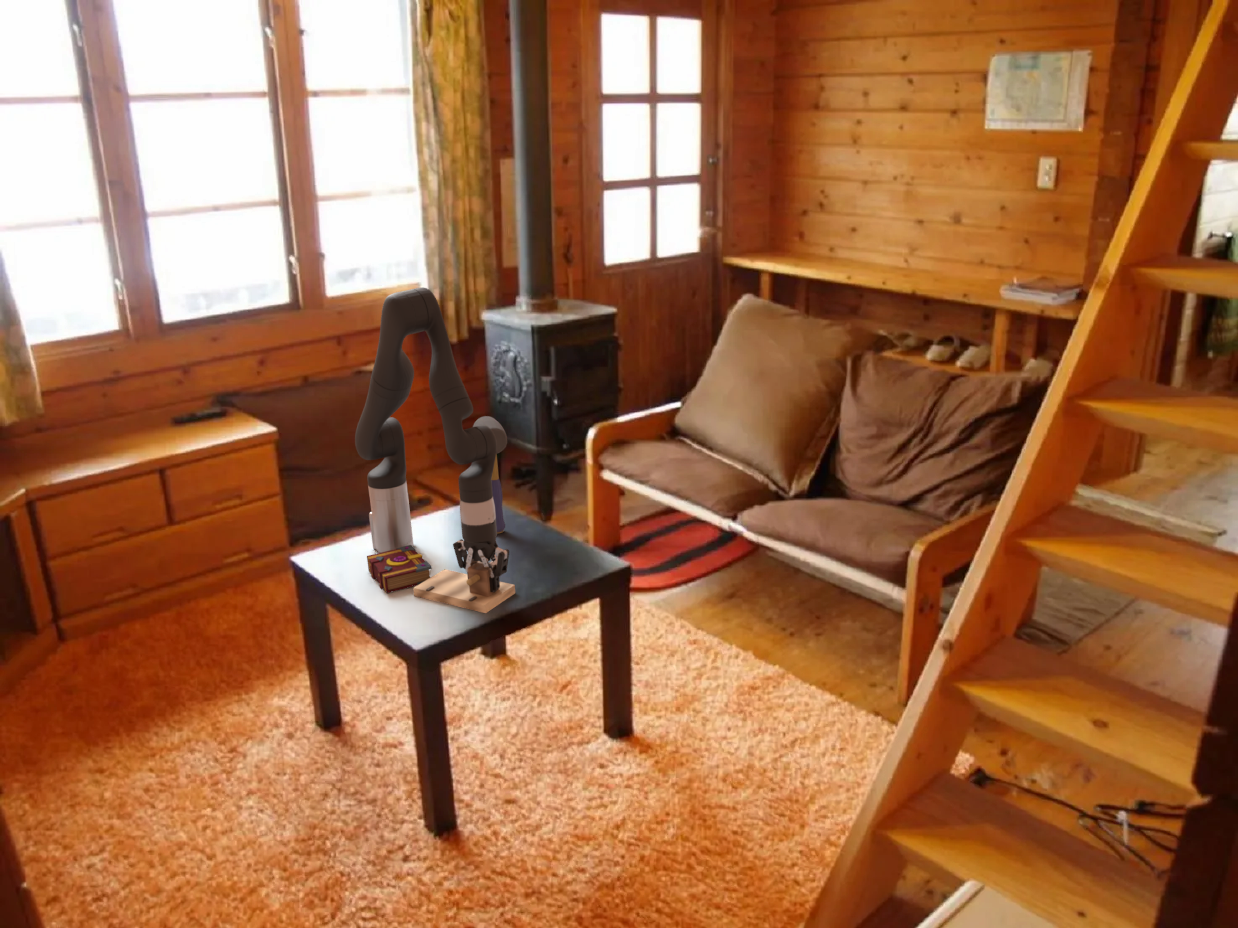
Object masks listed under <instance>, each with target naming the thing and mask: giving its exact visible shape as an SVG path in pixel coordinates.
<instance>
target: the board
mask: <svg viewBox="0 0 1238 928" xmlns="http://www.w3.org/2000/svg"><path fill="white" fill-rule="evenodd" d="M430 577H431V578H429V579H427V580H426V581H424V582H422V583H421V584H419V585H417V586H414V587H412V588H413V589H412V590H413V596H414V597H417V598H423V599H424V600H425V599H426V600H430V601H433V602H437V603H441V604H446V605H450V606H455V607H459V608H463V609H467V610H471V611H475V612H477V613H478V612H479V613H482V614H483V613H484V614H487V613H489V611H491V610H492V609H494V608H495V607H497V606H499V605H500V604H501V603H503V602H505V601H506V600H507V599H509V598H511V597H512V596H513V595H515V594H516V586H515V584H513V583H508V582H504V581H500V588H499V590H498V591H496V592H495V593H493V594H492V595H490V596H489V597H486V596H482V595H478V594H474V593H470V588H469V585H467V583H466V581H467V580H468V576H467V573H464V572H460V571H454V570H450V569H445V568H444V569H442V570H441V571H439V572H438V573H436V574H435V575H433V576H430Z"/></svg>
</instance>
